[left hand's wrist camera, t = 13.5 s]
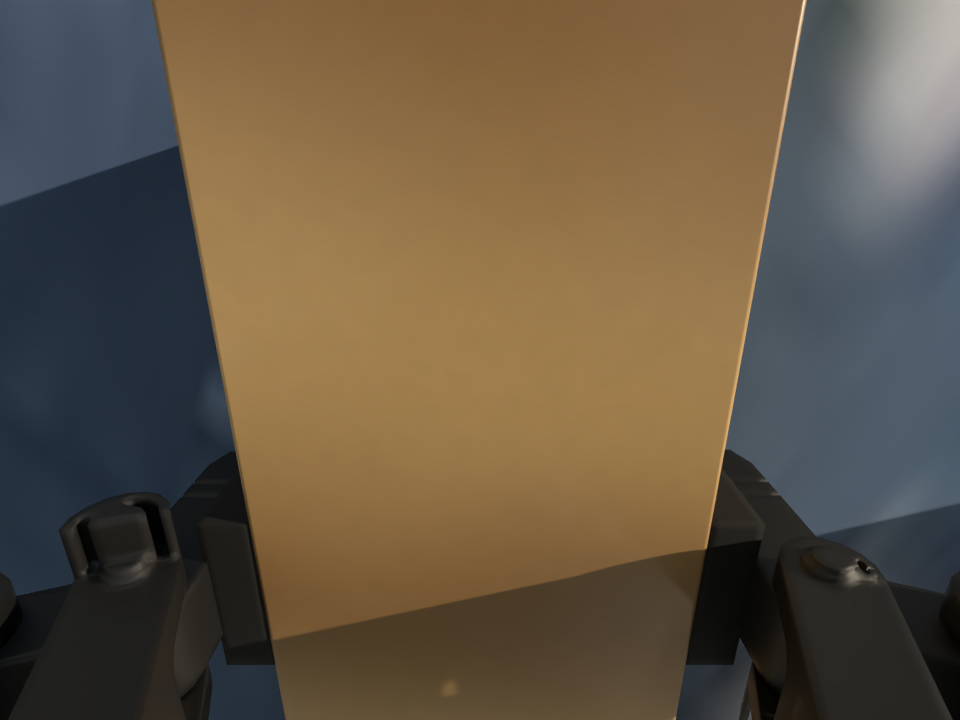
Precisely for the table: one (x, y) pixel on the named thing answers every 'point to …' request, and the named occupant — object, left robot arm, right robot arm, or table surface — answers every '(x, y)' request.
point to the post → (479, 329)
